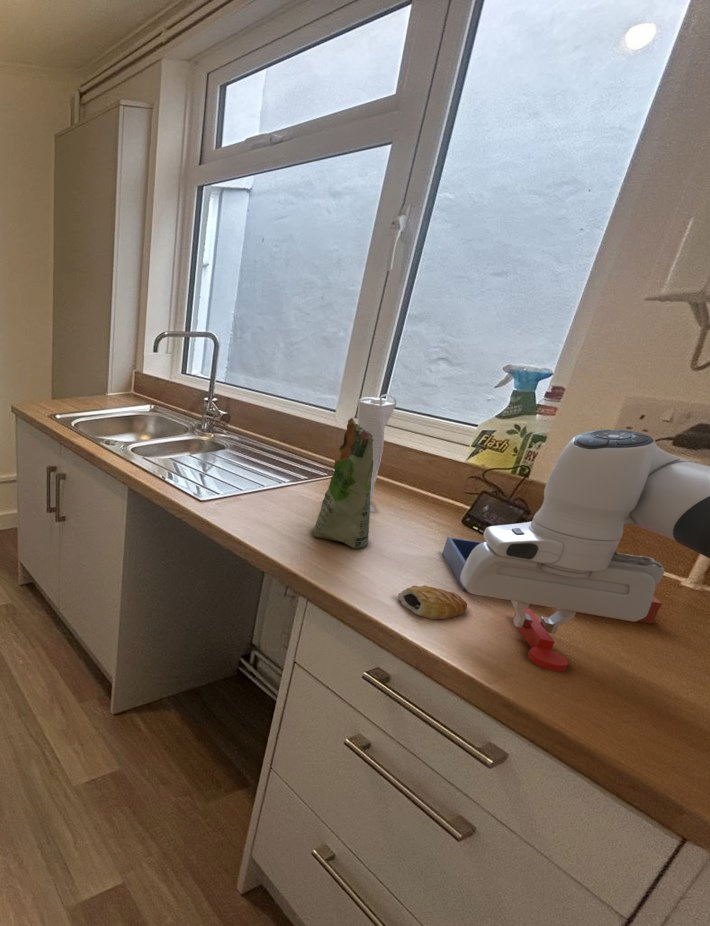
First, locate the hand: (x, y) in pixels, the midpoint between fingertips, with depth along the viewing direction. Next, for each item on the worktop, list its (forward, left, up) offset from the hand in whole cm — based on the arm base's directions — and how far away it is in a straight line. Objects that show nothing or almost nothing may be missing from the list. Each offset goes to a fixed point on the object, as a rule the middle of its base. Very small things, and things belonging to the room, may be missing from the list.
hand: (533, 628), depth 79 cm
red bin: (-13, -20, -2) cm, 24 cm away
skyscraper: (+19, -49, -2) cm, 52 cm away
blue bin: (0, -20, -2) cm, 20 cm away
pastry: (+12, -4, -2) cm, 13 cm away
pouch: (+24, -28, -2) cm, 37 cm away
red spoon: (0, +2, -2) cm, 3 cm away
